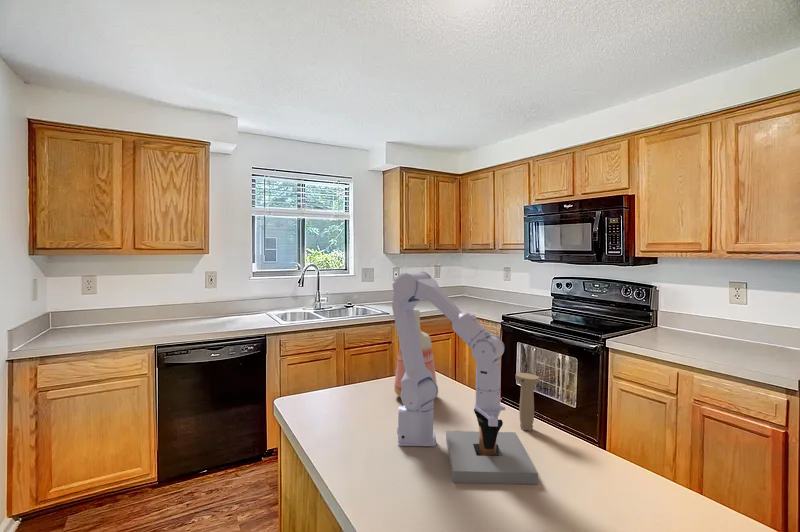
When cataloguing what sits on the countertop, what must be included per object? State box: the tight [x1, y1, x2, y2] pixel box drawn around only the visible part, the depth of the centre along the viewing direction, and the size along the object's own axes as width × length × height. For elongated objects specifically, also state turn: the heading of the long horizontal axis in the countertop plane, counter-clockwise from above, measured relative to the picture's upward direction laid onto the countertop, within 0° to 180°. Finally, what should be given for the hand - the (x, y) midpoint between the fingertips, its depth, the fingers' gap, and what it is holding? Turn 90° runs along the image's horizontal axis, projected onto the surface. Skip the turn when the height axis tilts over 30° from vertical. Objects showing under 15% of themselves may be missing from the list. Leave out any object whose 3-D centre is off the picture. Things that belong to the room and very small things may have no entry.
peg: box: [478, 424, 497, 456], centre depth 99 cm, size 4×4×8 cm
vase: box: [393, 309, 438, 399], centre depth 142 cm, size 14×14×30 cm
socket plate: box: [445, 430, 539, 485], centre depth 100 cm, size 18×20×2 cm
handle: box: [515, 372, 540, 432], centre depth 117 cm, size 5×6×15 cm
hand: (487, 443), depth 99 cm, fingers closed on peg, 4 cm apart
